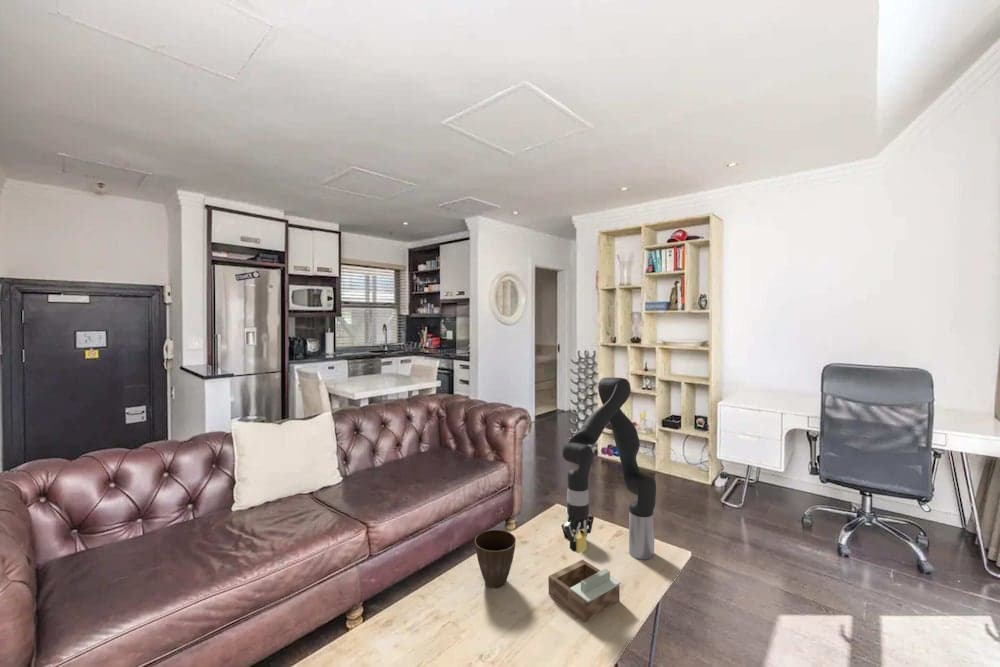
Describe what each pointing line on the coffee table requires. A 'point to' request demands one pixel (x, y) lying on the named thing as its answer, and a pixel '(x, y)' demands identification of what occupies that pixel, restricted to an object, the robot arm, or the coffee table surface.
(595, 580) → the slide cover
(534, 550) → the coffee table surface
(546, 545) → the coffee table surface
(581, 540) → the block
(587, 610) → the brown square open box
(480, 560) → the plant pot
